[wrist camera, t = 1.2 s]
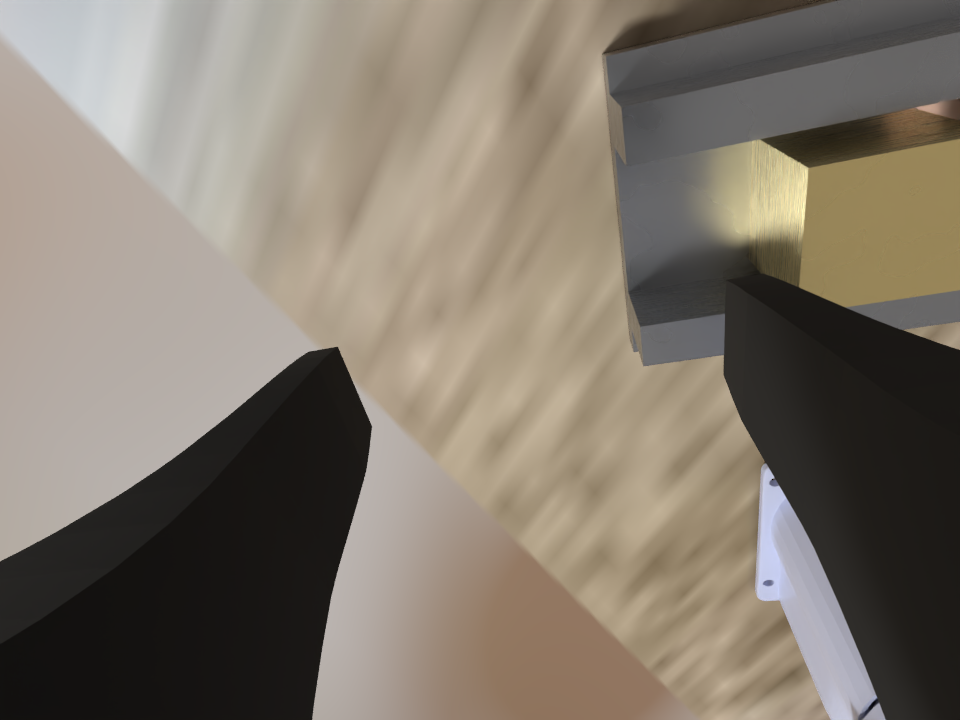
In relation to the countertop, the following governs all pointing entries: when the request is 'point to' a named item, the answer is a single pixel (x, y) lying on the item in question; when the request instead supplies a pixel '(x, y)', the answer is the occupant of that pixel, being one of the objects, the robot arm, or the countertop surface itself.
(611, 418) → the countertop surface
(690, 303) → the rail
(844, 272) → the brass block
